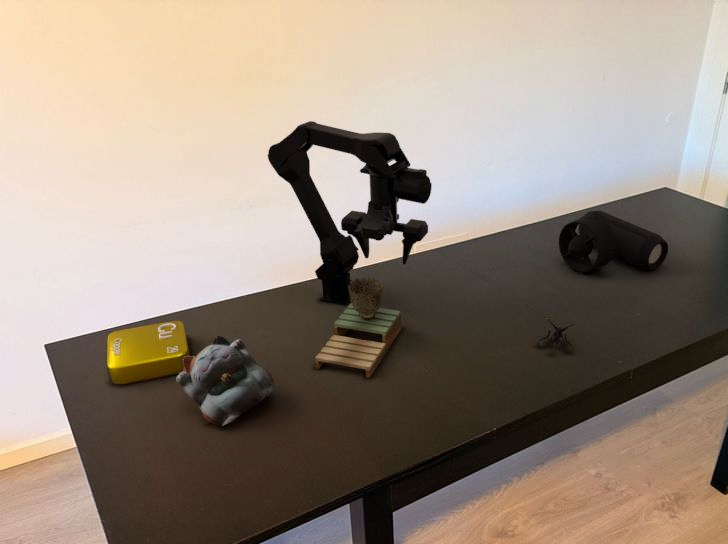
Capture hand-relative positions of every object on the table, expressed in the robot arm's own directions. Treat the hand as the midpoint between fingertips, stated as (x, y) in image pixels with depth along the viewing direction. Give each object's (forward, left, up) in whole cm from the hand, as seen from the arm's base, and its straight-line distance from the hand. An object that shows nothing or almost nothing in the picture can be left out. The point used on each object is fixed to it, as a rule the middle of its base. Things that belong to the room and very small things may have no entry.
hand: (385, 260), depth 149 cm
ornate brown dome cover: (0, -12, -8) cm, 15 cm away
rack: (0, -18, -13) cm, 22 cm away
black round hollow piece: (+42, +35, -13) cm, 57 cm away
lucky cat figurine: (-16, -44, -13) cm, 48 cm away
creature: (+41, -5, -13) cm, 43 cm away
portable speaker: (+52, +48, -13) cm, 72 cm away
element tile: (-40, -35, -13) cm, 54 cm away
